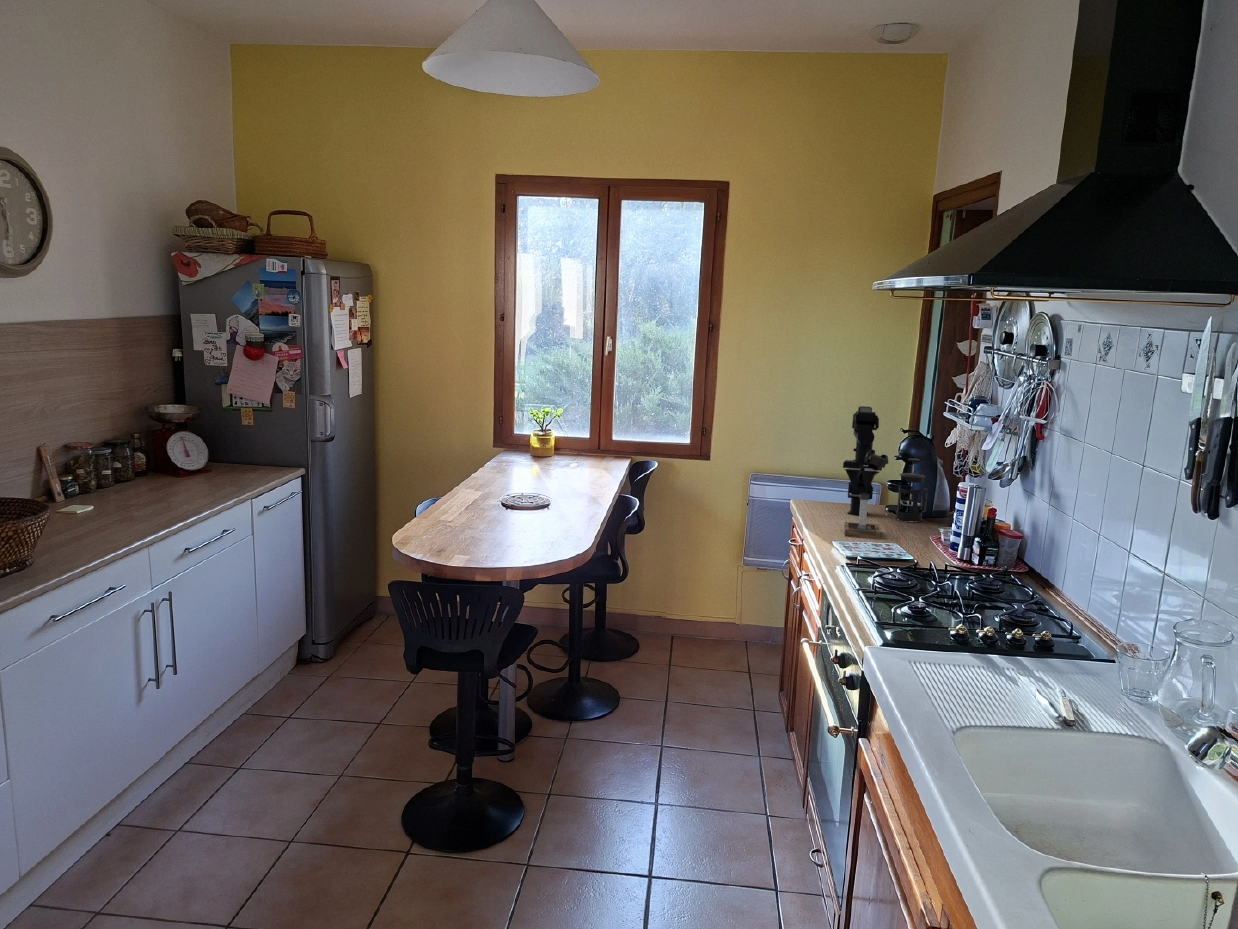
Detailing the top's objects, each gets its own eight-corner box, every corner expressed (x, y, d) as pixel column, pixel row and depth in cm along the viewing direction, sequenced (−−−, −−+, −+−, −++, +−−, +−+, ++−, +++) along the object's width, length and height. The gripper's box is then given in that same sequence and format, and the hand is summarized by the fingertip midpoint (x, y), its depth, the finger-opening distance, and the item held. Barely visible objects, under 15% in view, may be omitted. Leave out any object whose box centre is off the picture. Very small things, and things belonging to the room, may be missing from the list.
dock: (844, 528, 306) (844, 521, 305) (877, 531, 303) (878, 524, 303) (844, 536, 295) (845, 529, 294) (879, 538, 292) (880, 531, 292)
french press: (899, 522, 319) (905, 460, 315) (889, 516, 328) (894, 456, 324) (930, 522, 320) (936, 461, 316) (920, 517, 329) (925, 457, 325)
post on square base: (852, 532, 297) (855, 495, 295) (852, 528, 303) (855, 492, 300) (871, 534, 295) (874, 496, 293) (870, 530, 301) (873, 493, 299)
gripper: (872, 445, 301) (869, 490, 301) (897, 448, 314) (893, 491, 314) (843, 444, 308) (840, 488, 308) (868, 447, 322) (865, 489, 322)
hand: (861, 489), depth 313 cm, fingers open, 9 cm apart
